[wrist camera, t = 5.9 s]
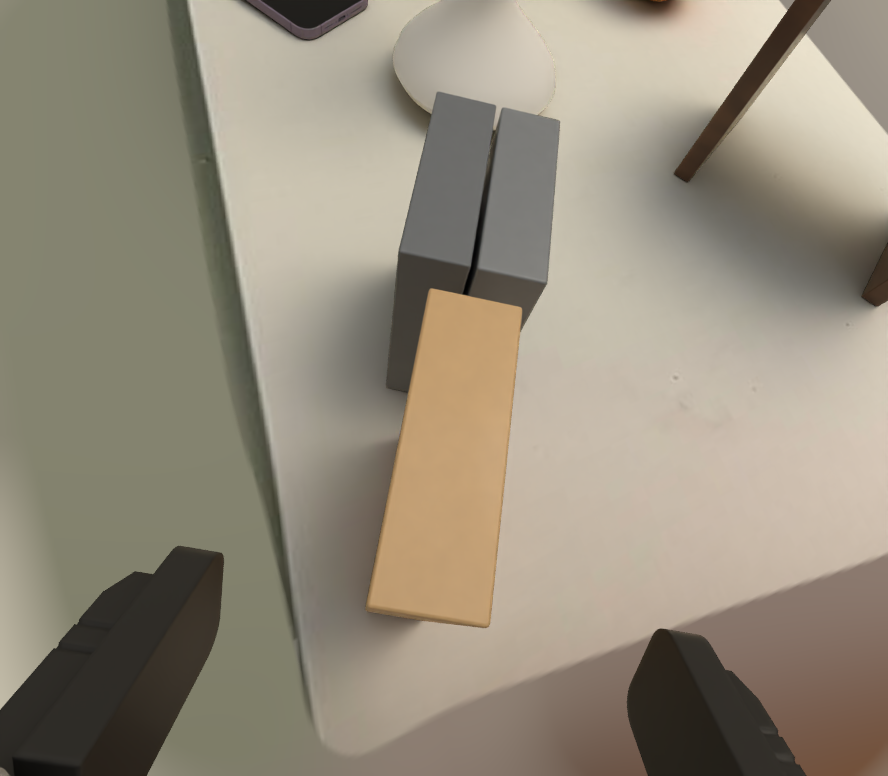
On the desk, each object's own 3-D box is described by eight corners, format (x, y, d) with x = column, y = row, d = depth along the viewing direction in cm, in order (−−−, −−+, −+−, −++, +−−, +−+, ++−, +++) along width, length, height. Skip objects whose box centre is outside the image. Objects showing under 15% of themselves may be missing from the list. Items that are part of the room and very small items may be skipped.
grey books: (496, 283, 30) (561, 119, 20) (479, 406, 27) (548, 283, 17) (412, 265, 30) (437, 90, 20) (385, 388, 26) (398, 251, 16)
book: (450, 447, 26) (523, 306, 14) (423, 621, 22) (490, 628, 10) (399, 437, 25) (429, 285, 14) (364, 610, 22) (365, 607, 10)
